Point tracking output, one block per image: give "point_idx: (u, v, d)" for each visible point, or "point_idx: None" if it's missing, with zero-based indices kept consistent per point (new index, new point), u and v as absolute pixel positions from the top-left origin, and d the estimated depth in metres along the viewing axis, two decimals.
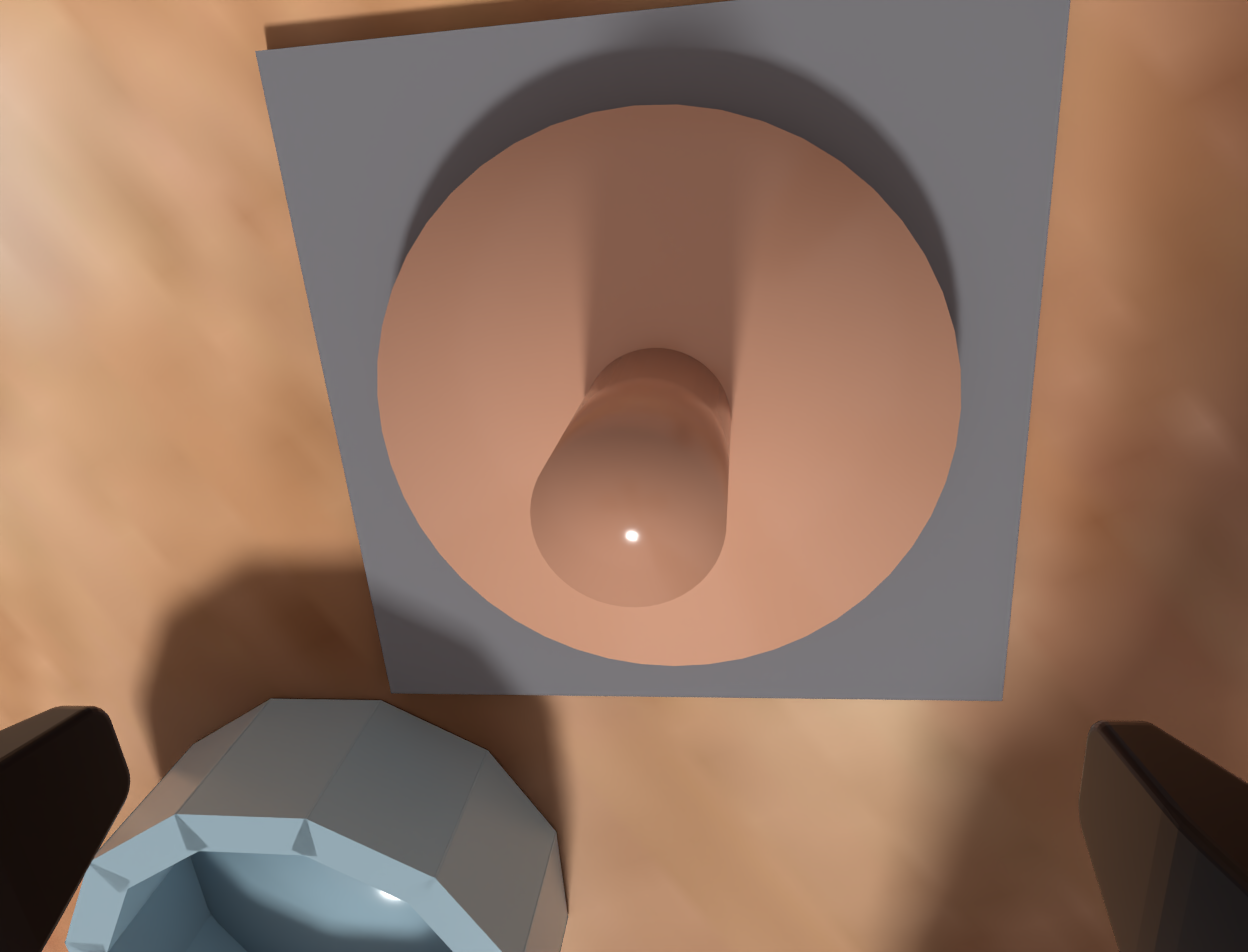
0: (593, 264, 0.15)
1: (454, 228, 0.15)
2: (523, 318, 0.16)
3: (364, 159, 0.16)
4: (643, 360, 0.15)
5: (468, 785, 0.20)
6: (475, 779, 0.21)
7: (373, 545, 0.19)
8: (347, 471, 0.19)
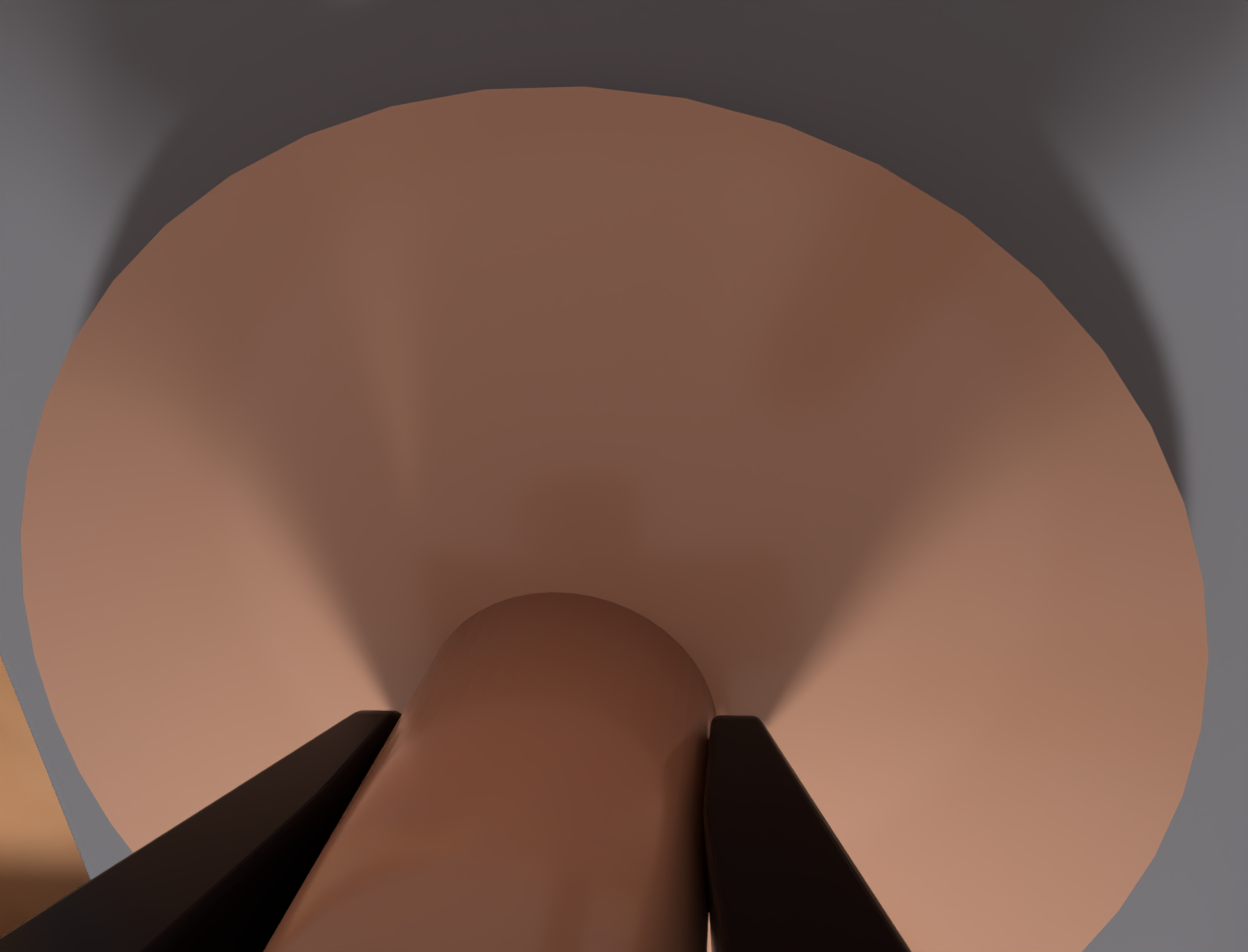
0: (421, 429, 0.07)
1: (130, 353, 0.07)
2: (290, 529, 0.08)
3: None
4: (520, 648, 0.07)
5: None
6: None
7: (103, 857, 0.11)
8: (46, 741, 0.11)
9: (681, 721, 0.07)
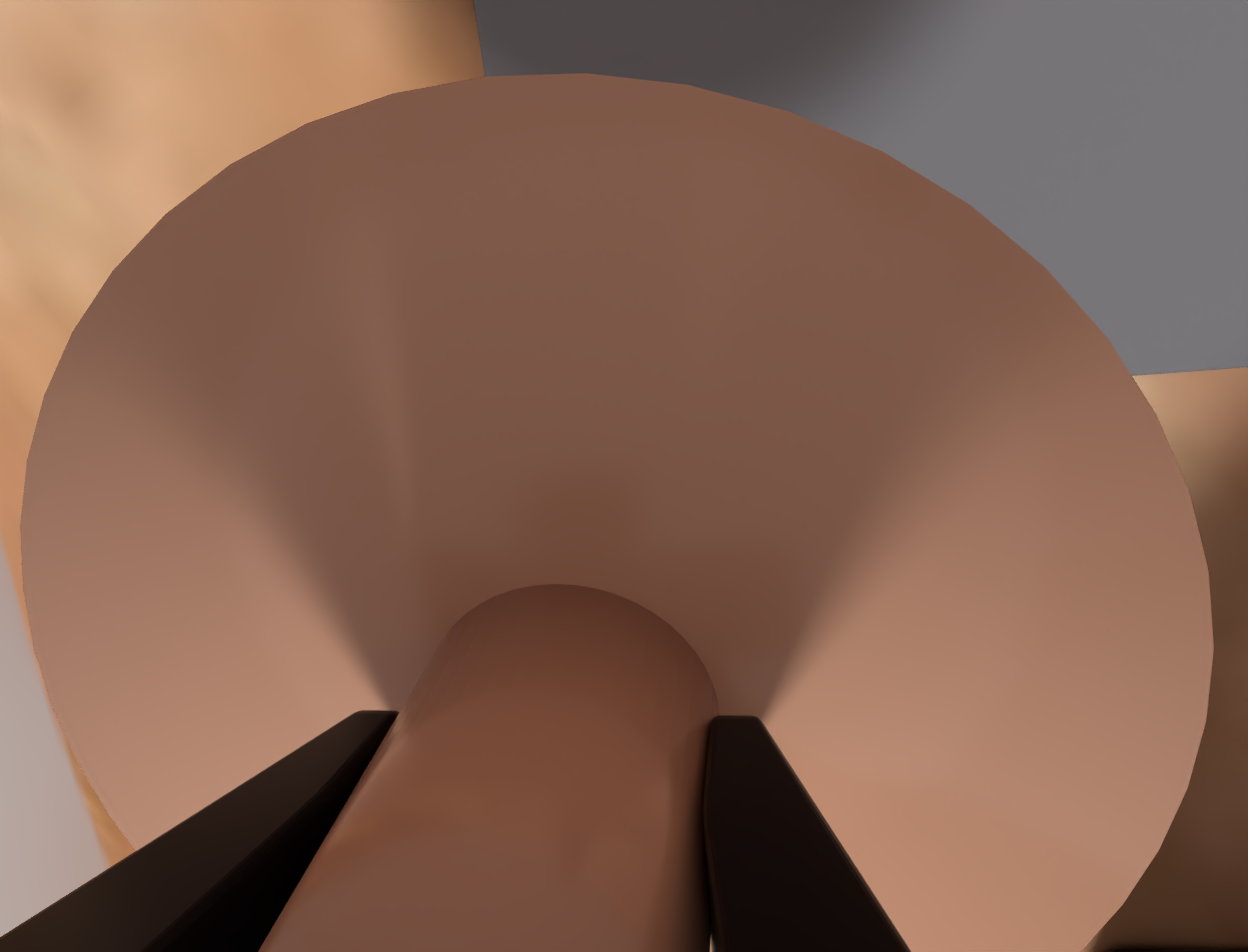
0: (423, 420, 0.07)
1: (130, 343, 0.07)
2: (291, 521, 0.08)
3: None
4: (524, 639, 0.07)
5: None
6: None
7: None
8: None
9: (684, 712, 0.07)
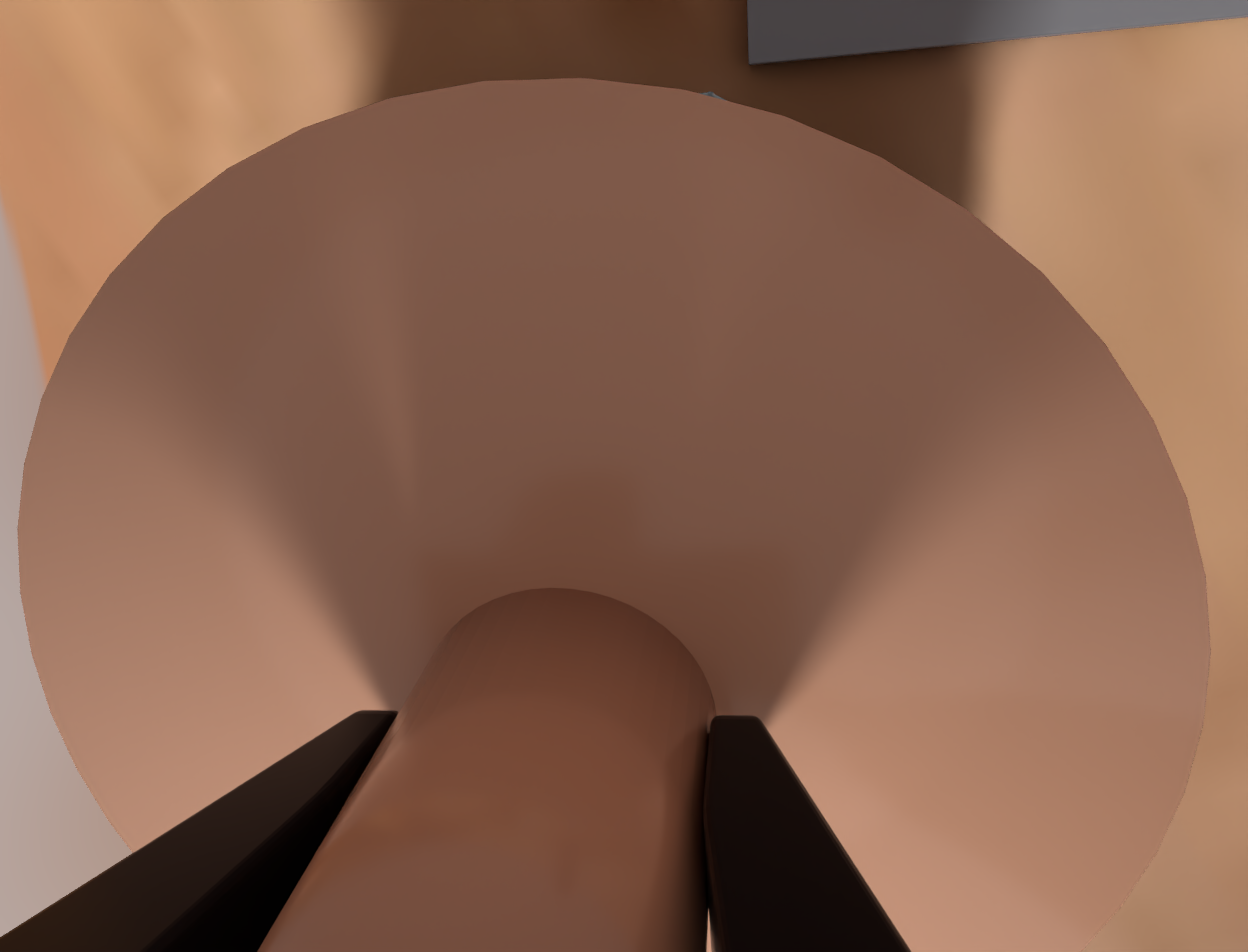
0: (420, 424, 0.07)
1: (126, 347, 0.07)
2: (287, 524, 0.08)
3: None
4: (520, 644, 0.07)
5: None
6: None
7: None
8: None
9: (681, 717, 0.07)
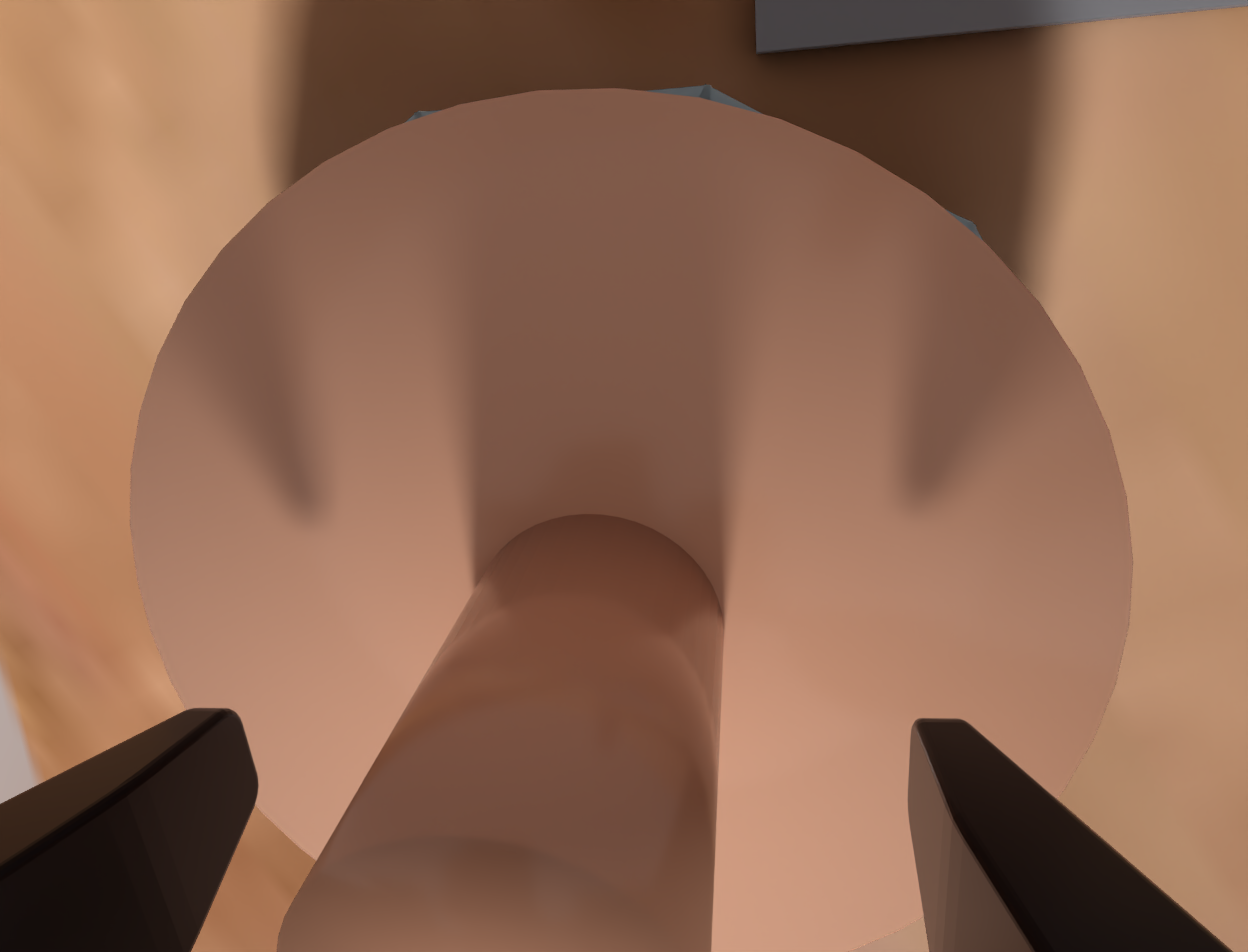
0: (478, 374, 0.09)
1: (232, 310, 0.09)
2: (362, 462, 0.09)
3: None
4: (562, 551, 0.08)
5: None
6: None
7: None
8: None
9: (695, 613, 0.08)
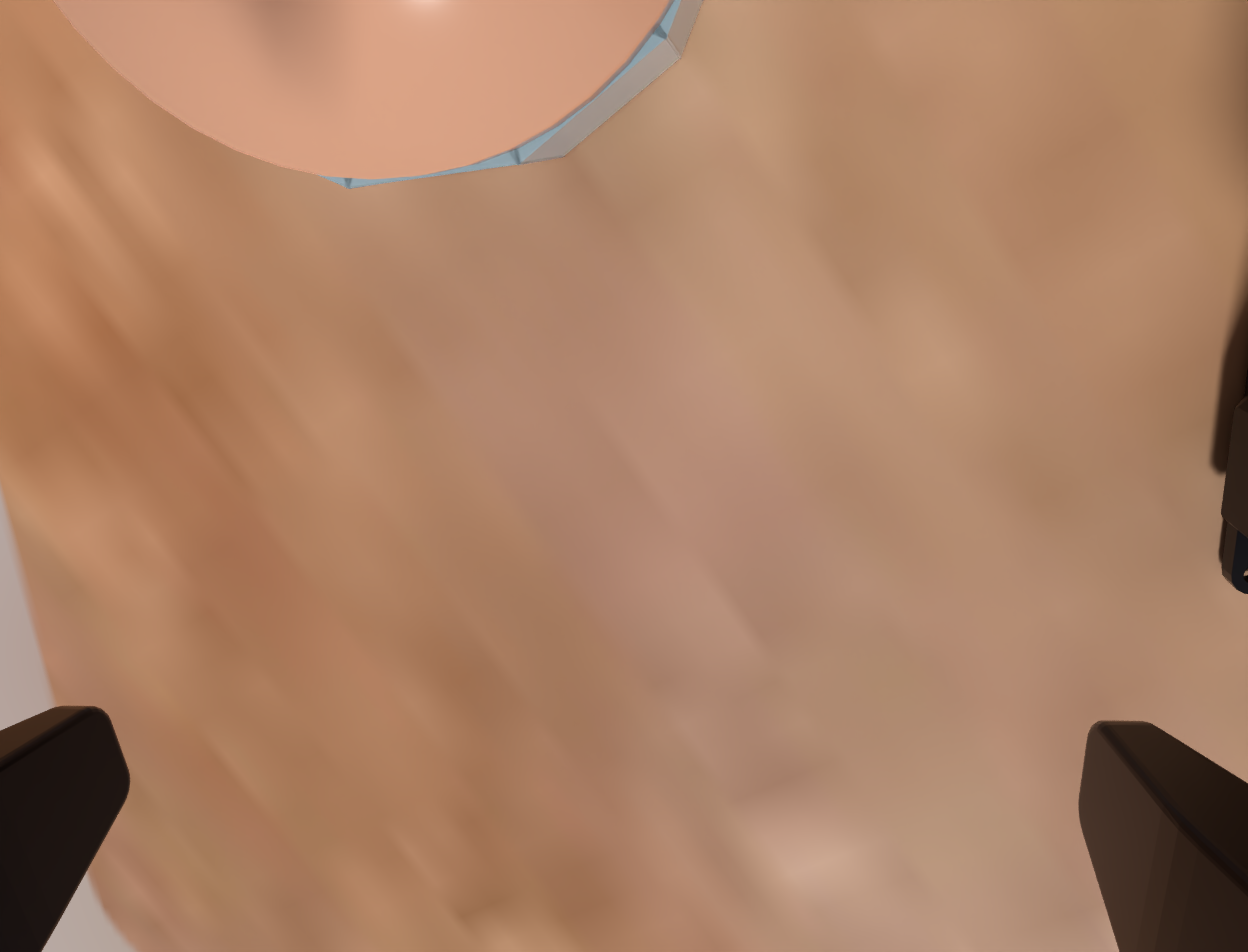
0: None
1: None
2: None
3: None
4: None
5: None
6: None
7: None
8: None
9: None
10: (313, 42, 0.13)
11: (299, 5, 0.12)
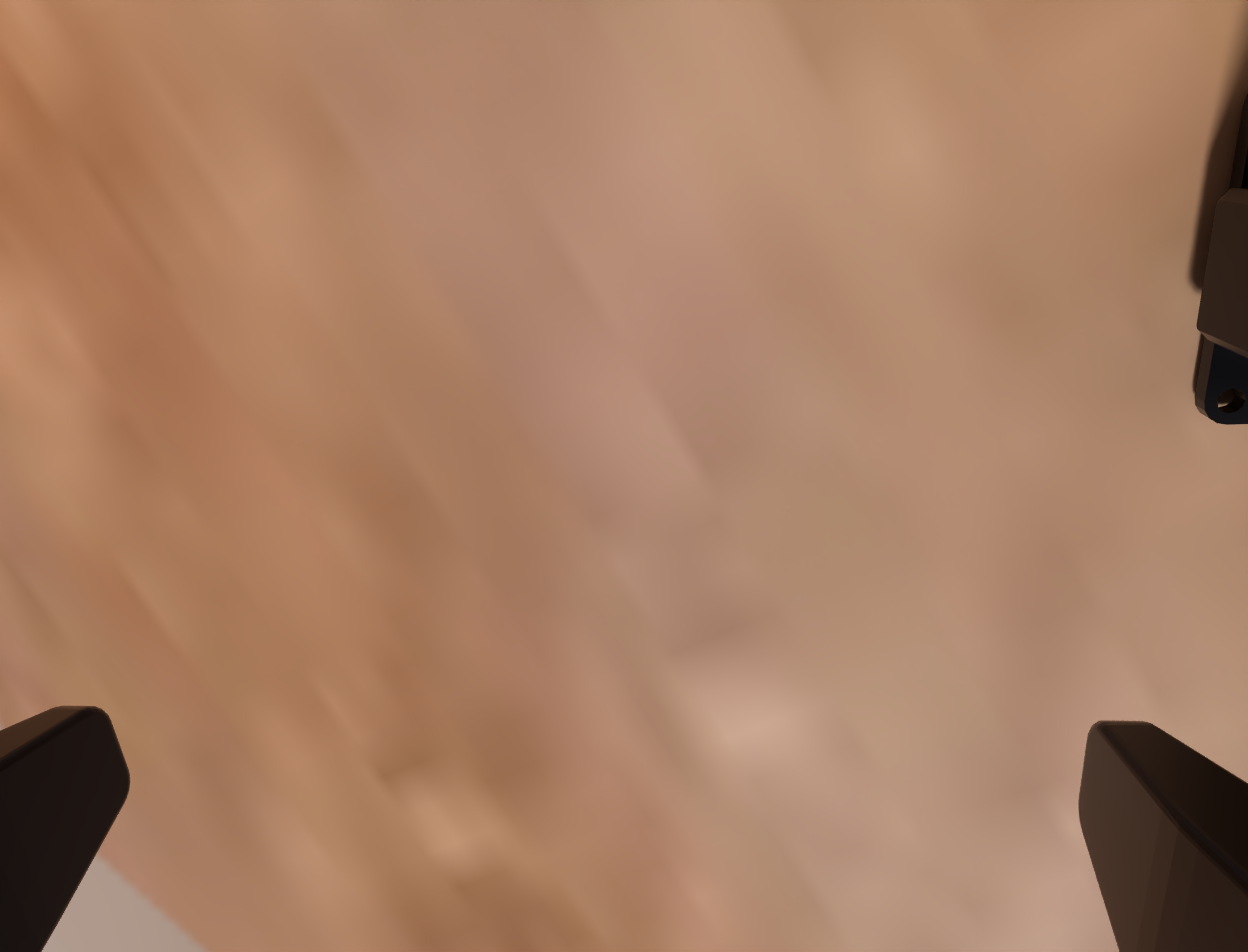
0: None
1: None
2: None
3: None
4: None
5: None
6: None
7: None
8: None
9: None
10: None
11: None
